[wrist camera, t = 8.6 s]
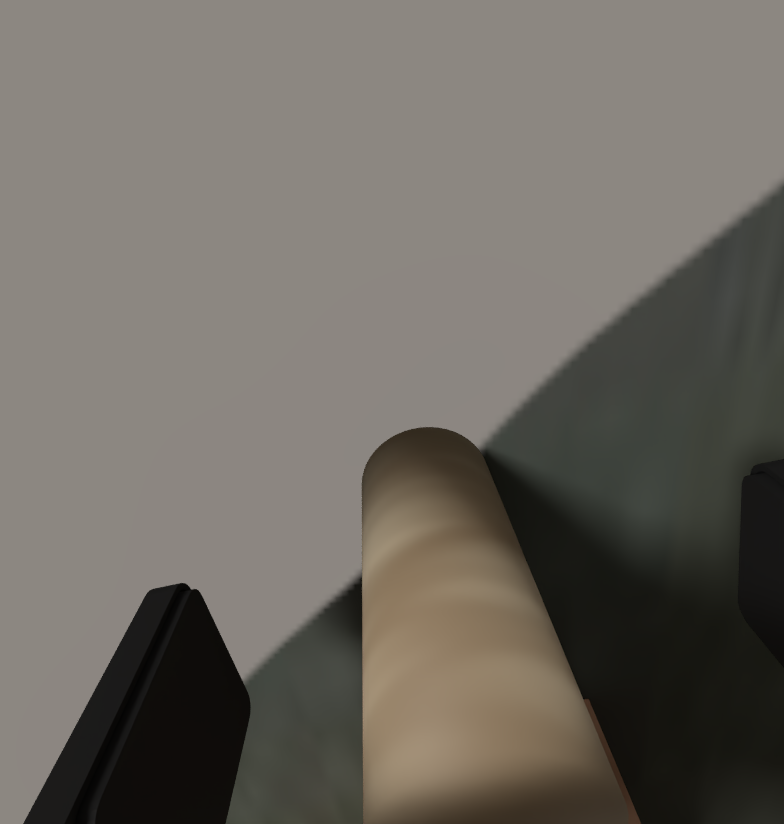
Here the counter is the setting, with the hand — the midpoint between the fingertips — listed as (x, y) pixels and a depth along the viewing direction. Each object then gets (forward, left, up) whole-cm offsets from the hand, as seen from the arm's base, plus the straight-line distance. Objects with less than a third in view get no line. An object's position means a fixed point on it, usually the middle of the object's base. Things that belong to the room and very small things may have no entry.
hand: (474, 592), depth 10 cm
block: (0, +6, -3) cm, 7 cm away
